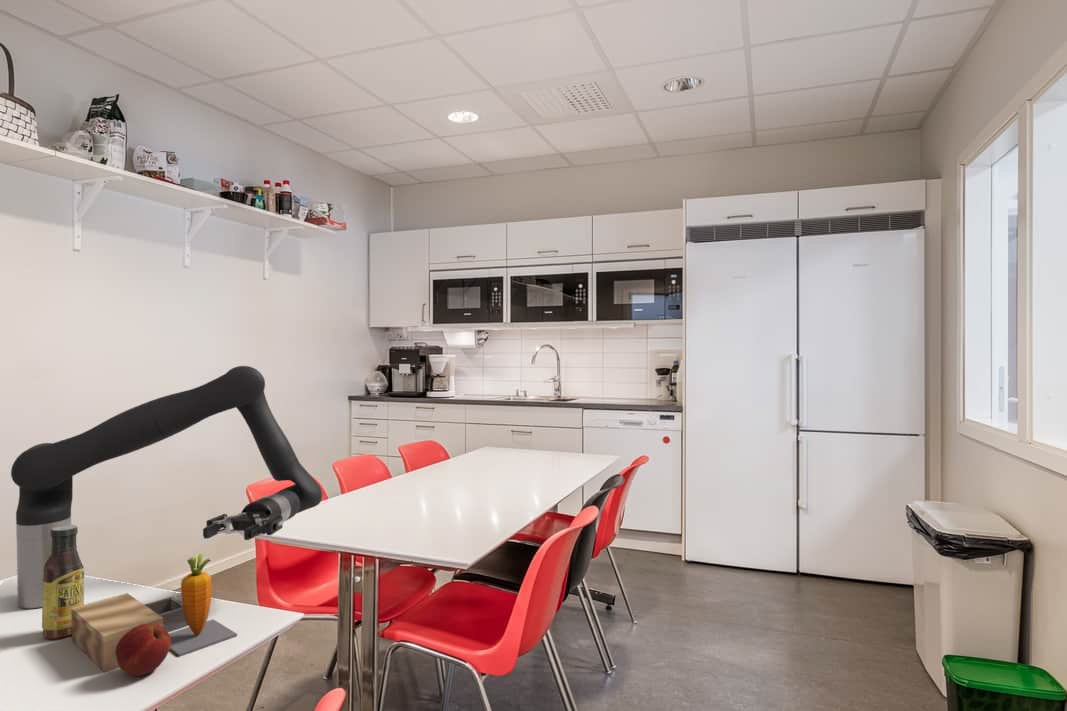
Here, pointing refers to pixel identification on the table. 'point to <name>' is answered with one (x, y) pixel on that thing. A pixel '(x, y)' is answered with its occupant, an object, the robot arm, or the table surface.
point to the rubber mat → (199, 638)
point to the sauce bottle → (62, 583)
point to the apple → (142, 649)
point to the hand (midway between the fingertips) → (225, 534)
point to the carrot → (196, 595)
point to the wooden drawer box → (119, 624)
